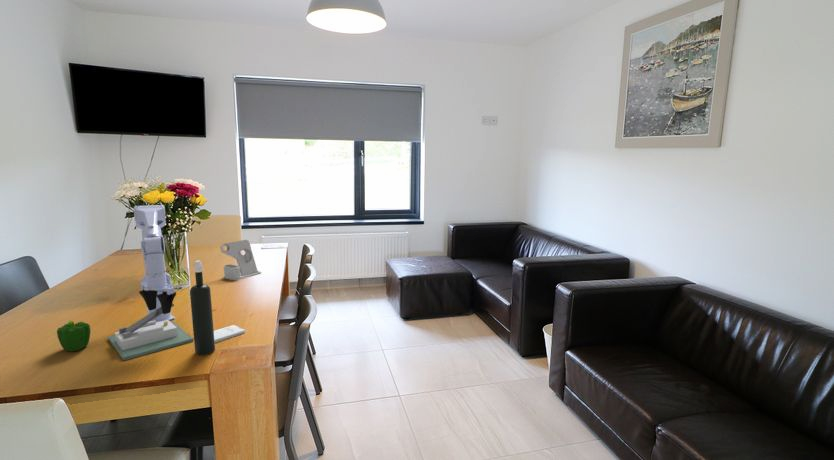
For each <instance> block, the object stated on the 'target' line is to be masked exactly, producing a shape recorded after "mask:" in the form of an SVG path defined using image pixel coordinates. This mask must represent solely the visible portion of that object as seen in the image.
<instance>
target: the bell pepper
mask: <svg viewBox="0 0 834 460" xmlns="http://www.w3.org/2000/svg"><path fill="white" fill-rule="evenodd" d="M74 322H75V321H73V320H69V321H68V322H67V323H66V324H64V325H63V326H61V327H58V328H57V331H56V334H57V339H58V341H59V344H60V346H61V347H62V349H64V350H65V351H67V352H76V351H77V352H78V351H80V350H82V349H83V348H85V347H86V346H88V345H89V343H90V338H91V326H90V324H89V323H87V322H84V321H78V322H76V323H74Z"/></svg>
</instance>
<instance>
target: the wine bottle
mask: <svg viewBox="0 0 834 460" xmlns="http://www.w3.org/2000/svg"><path fill="white" fill-rule="evenodd" d="M202 264H203V263H202V260H195V261H194V262H193V267H194V276H195V284H194V285H193V286H192V287H191V288H190V289H189V296H190V298H189V299H190V307H191V311H190V312H191V320H192V321H191V322H192V332H193V346H194V354H195V355H197V356H206V355H210V354H212V353H214V352H215V351H216V346H215V345H216V343H215V342H214V331H215V330H214V319H213V317H214V316H213V306H212V305H213V304H212V294H211V293H212V292H211V287H210V286H209V285H208V284H205V283H204V279H203V265H202Z"/></svg>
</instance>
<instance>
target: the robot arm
mask: <svg viewBox="0 0 834 460" xmlns="http://www.w3.org/2000/svg"><path fill="white" fill-rule="evenodd" d="M133 216H134V221H135V226H136V228H138V229H139V230H141V240H140V249H141V254H142V258H143V261H144V272H145V275H144V276H142V277H141V283H140V288H141V290H139V291H138V293H139V294H140V296H141V297H142V299H143V301H144V303H145V304H146V314H147V315H148V314H150V313H151V312H153V311H155V310H156V309H158V308H159V307H162V312H163V313H162V314H160V315H159V316H157V317H156V318H154V319H153V320H151V321H156V322H161V321H165V320H169V321H173V320H175V318H176V317H175V316H174V315H172V312H171V311H172V307H171V306H172V303H173V302H174V300H175V297H176V296H177V292H176V291H175V287H173V282H172V277H171V275H170V273H168V272H166V271H167V270H166V264H165V252H166V247H165V245H166V243H165V239H164V236H163V233H162V228H163V227H165V226H166V208H165V205H164V204H158V205H157V204H155V205H153V204H151V205H134V206H133Z"/></svg>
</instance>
